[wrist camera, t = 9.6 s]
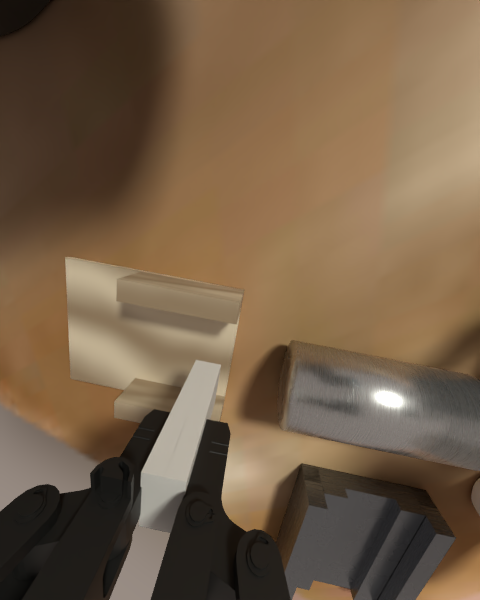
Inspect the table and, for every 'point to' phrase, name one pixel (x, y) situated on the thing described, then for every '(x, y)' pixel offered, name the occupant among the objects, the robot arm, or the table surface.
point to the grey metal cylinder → (380, 404)
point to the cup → (476, 496)
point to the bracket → (147, 333)
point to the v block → (361, 535)
